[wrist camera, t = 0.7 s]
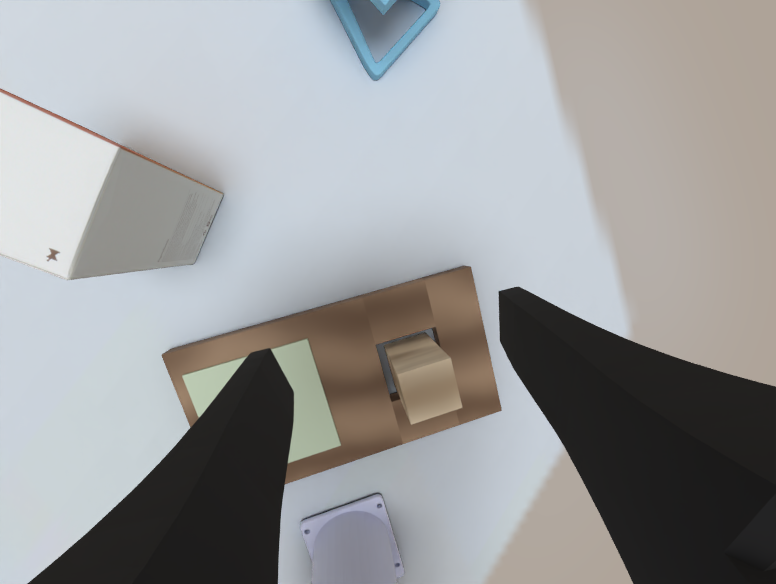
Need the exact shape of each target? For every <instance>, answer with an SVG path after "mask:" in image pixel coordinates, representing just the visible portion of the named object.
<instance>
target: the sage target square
mask: <svg viewBox="0 0 776 584" xmlns="http://www.w3.org/2000/svg"><path fill="white" fill-rule="evenodd" d="M271 351H272V352H273V354H274V356H275V358H276V360H277V362H278V363H279V365H280V367H281V369H282V371H283V373H284V374H285V376H286V378H287V380H288V382H289V384H290V385H291V387H292V389H293V391H294V423H293V431H292V438H291V445H290V452H289V458H288V463H290V462H293V461H296V460H299V459H302V458H305V457H308V456H311V455H314V454H317V453H320V452H323V451H326V450H329V449H332V448H335V447H338V446H341V442H340V439H339V436H338V433H337V430H336V426H335V423H334V420H333V417H332V414H331V411H330V407H329V404H328V401H327V398H326V395H325V392H324V388H323V385H322V382H321V379H320V376H319V373H318V370H317V366H316V363H315V360H314V357H313V354H312V351H311V347H310V344H309V341H308V338H306V339H303V340H299V341H296V342H293V343H289V344H286V345H282V346H279V347H275V348H272V349H271ZM246 358H247V356H245V357H241V358H238V359H234V360H231V361H228V362H224V363H221V364H217V365H214V366H211V367H207V368H204V369H200V370H197V371H194V372H190V373H187V374H184V375H182V377H183V380H184V382H185V385H186V387H187V390H188V392H189V395H190V397H191V400H192V402H193V405H194V407H195V410H196V412H197V415H198V417H200V416H201V415H202V414H203V412H204V411H205V410H206V409H207V408H208V406H209V405H210V404H211V402H212V401H213V400H214V399H215V397H216V396H217V395H218V393H219V392H220V391H221V390H222V388H223V387H224V386H225V385H226V383H227V382H228V381H229V379H230V378H231V377H232V375H233V374H234V373H235V371H236V370H237V369H238V368H239V366H240V365H241V364H242V363H243V361H244V360H245V359H246Z"/></svg>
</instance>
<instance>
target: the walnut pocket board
mask: <svg viewBox="0 0 776 584" xmlns="http://www.w3.org/2000/svg"><path fill="white" fill-rule="evenodd" d="M429 328H432V329H433V333H434V337H435V341H436V344H437V345H438V346H439V347H440V348H441V349H442V350H443V351H444V352H445V353H446V354H447V355H448V356H449V357H450V358H451V361H452V365H453V369H454V374H455V378H456V382H457V386H458V391H459V395H460V399H461V403H462V407H463V408H460V409H457V410H454V411H451V412H448V413H445V414H442V415H439V416H436V417H433V418H430V419H427V420H424V421H421V422H418V423H415V424H412V425H411V423H410V421H409V419H408V416H407V414H406V411H405V409H404V407H403V404H402V402H401V399H400V397H399V394H398V392H396V393H393V394H389V391H388V388H387V384H386V381H385V377H384V374H383V370H382V366H381V363H380V359H379V356H378V352H377V348H376V345H377V344H380V343H383V342H386V341H390V340H393V339H396V338H400V337H403V336H406V335H410V334H413V333H416V332H420V331H423V330H426V329H429ZM306 338H308V341H309V344H310V347H311V351H312V354H313V357H314V360H315V363H316V366H317V370H318V373H319V376H320V379H321V382H322V385H323V388H324V392H325V395H326V398H327V401H328V404H329V407H330V411H331V414H332V417H333V420H334V423H335V426H336V430H337V433H338V436H339V439H340V442H341V446H338V447H335V448H332V449H329V450H326V451H323V452H320V453H317V454H314V455H311V456H308V457H305V458H302V459H299V460H296V461H293V462H290V463H288V465H287V472H286V478H285V484H287V483H290V482H293V481H296V480H299V479H302V478H305V477H308V476H311V475H314V474H316V473H319V472H322V471H325V470H328V469H331V468H334V467H337V466H340V465H343V464H346V463H349V462H352V461H355V460H358V459H361V458H363V457H366V456H369V455H372V454H375V453H378V452H381V451H384V450H387V449H390V448H393V447H396V446H399V445H402V444H405V443H408V442H411V441H413V440H416V439H419V438H422V437H425V436H428V435H431V434H434V433H437V432H440V431H443V430H446V429H449V428H452V427H455V426H458V425H461V424H463V423H466V422H469V421H472V420H475V419H478V418H481V417H484V416H487V415H490V414H493V413H496V412H499V411H502V410H501V405H500V400H499V396H498V391H497V386H496V382H495V377H494V372H493V368H492V363H491V358H490V354H489V349H488V344H487V340H486V335H485V330H484V326H483V321H482V316H481V312H480V307H479V302H478V298H477V293H476V288H475V284H474V279H473V274H472V270H471V267H469V266H462V267H458V268H455V269H451V270H448V271H444V272H441V273H437V274H434V275H430V276H426V277H423V278H419V279H416V280H412V281H409V282H405V283H402V284H398V285H395V286H391V287H388V288H384V289H381V290H377V291H374V292H370V293H366V294H363V295H359V296H356V297H352V298H349V299H345V300H342V301H338V302H335V303H331V304H328V305H324V306H321V307H317V308H314V309H310V310H307V311H303V312H299V313H296V314H292V315H289V316H285V317H282V318H278V319H275V320H271V321H268V322H264V323H261V324H257V325H254V326H250V327H247V328H243V329H240V330H236V331H232V332H229V333H225V334H222V335H218V336H215V337H211V338H208V339H204V340H201V341H197V342H194V343H190V344H187V345H183V346H180V347H176V348H172V349H170V350H168V351H167V352H165V353H164V354H162V358H163V360H164V363H165V365H166V368H167V370H168V373H169V375H170V378H171V380H172V382H173V385H174V387H175V390H176V392H177V395H178V397H179V400H180V402H181V405H182V407H183V410H184V412H185V415H186V417H187V420H188V422H189V425H190V427H192V426H193V424H194V423H195V422H196V421H197V420H198V418H199V417H198V415H197V412H196V410H195V407H194V405H193V402H192V400H191V397H190V395H189V392H188V390H187V387H186V385H185V382H184V380H183V377H182V375H184V374H187V373H190V372H194V371H197V370H200V369H204V368H207V367H211V366H214V365H217V364H221V363H224V362H228V361H231V360H234V359H238V358H241V357H245V356H248V355H249V354H250V353H251V352H255V351H259V350H263V349H267V348H270V349H272V348H275V347H279V346H282V345H286V344H289V343H293V342H296V341H299V340H303V339H306Z"/></svg>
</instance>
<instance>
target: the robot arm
mask: <svg viewBox="0 0 776 584" xmlns="http://www.w3.org/2000/svg"><path fill="white" fill-rule="evenodd" d="M499 322H500V342H501V344H502V346H503V348H504V350H505V352H506V354H507V357H508V359H509V360H510V362H511V364H512V366H513V368H514V370H515V371H516V373H517V375H518V376H519V378H520V379H521V381H522V382H523V384H524V385H525V387H526V388H527V390H528V391H529V393H530V394H531V396H532V397H533V399H534V400H535V402H536V403H537V405H538V406H539V408H540V409H541V411H542V412H543V414H544V415H545V417H546V418H547V420H548V421H549V423H550V424H551V426H552V427H553V429H554V430H555V432H556V433H557V435H558V437H559V438H560V440H561V442H562V443H563V445H564V447H565V448H566V450H567V452H568V454H569V456H570V458H571V460H572V462H573V463H574V465H575V467H576V469H577V471H578V472H579V474H580V476H581V478H582V480H583V482H584V484H585V486H586V488H587V490H588V492H589V494H590V496H591V497H592V500H593V502H594V503H595V505H596V507H597V509H598V511H599V513H600V515H601V517H602V519H603V521H604V523H605V525H606V527H607V529H608V531H609V533H610V535H611V538H612V540H613V542H614V544H615V546H616V548H617V550H618V552H619V554H620V556H621V558H622V560H623V562H624V564H625V567H626V569H627V571H628V573H629V575H630V577H631V579H632V581H633V584H776V387H775V386H771V385H767V384H763V383H759V382H756V381H752V380H748V379H744V378H741V377H737V376H733V375H730V374H727V373H723V372H720V371H717V370H713V369H710V368H707V367H704V366H701V365H697V364H694V363H691V362H688V361H685V360H682V359H679V358H676V357H673V356H670V355H667V354H664V353H662V352H659V351H656V350H654V349H651V348H648V347H645V346H643V345H640V344H638V343H635V342H633V341H630V340H628V339H625V338H623V337H620V336H618V335H616V334H614V333H611V332H609V331H607V330H604V329H602V328H600V327H598V326H595V325H593V324H591V323H589V322H587V321H585V320H583V319H581V318H579V317H577V316H575V315H573V314H571V313H569V312H567V311H565V310H563V309H561V308H559V307H557V306H555V305H553V304H551V303H549V302H547V301H545V300H544V299H542V298H540V297H538V296H536V295H534V294H532V293H530V292H528V291H526V290H524V289H522V288H520V287H514V288H510V289H506V290H502V291H499ZM293 423H294V391H293V389H292V387H291V385H290V384H289V382H288V380H287V378H286V376H285V374H284V373H283V371H282V369H281V367H280V365H279V363H278V362H277V360H276V358H275V356H274V354H273V352H272V351H271V349H270V348H267V349H263V350H259V351H255V352H251V353H250V354H249V355H248V356H247V358H246V359H245V360H244V361H243V363H242V364H241V365H240V366H239V368H238V369H237V370H236V371H235V373H234V374H233V375H232V377H231V378H230V379H229V381H228V382H227V383H226V385H225V386H224V387H223V388H222V390H221V391H220V392H219V393H218V395H217V396H216V397H215V399H214V400H213V401H212V402H211V404H210V405H209V406H208V408H207V409H206V410H205V411H204V412H203V414H202V415H201V416H200V417H199V418H198V420H197V421H196V422H195V423H194V424H193V426H192V427H191V428H190V429H189V430H188V431H187V433H186V434H185V435H184V436H183V437H182V439H181V440H180V441H179V442H178V443H177V444H176V446H175V447H174V448H173V449H172V450H171V451H170V452H169V453H168V454H167V455H166V457H165V458H164V459H163V460H162V461H161V462H160V463H159V464H158V465H157V466H156V467H155V468H154V469H153V470H152V471H151V472H150V473H149V474H148V475H147V476H146V477H145V478H144V480H143V481H142V482H141V483H140V484H139V485H138V486H137V487H136V488H135V489H134V490H133V491H132V492H130V493H129V494H128V495H127V496H126V497H125V498H124V499H123V500H122V501H121V502H120V503H119V504H118V505H117V506H116V507H114V508H113V509H112V510H111V511H110V512H109V513H108V514H107V515H106V516H105V517H104V518H103V519H102V520H101V521H99V522H98V523H97V524H96V525H95V526H94V527H93V528H92V529H91V530H90V531H89V532H88V533H86V534H85V535H84V536H83V537H82V538H81V539H80V540H78V541H77V542H76V543H75V544H74V545H73V546H72V547H70V548H69V549H68V550H67V551H66V552H65V553H64V554H62V555H61V556H60V557H59V558H58V559H57V560H55V561H54V562H53V563H52V564H51V565H49V566H48V567H47V568H46V569H45V570H43V571H42V572H41V573H40V574H39V575H37V576H36V577H35V578H34V579H33V580H31V581H30V582H29V583H28V584H278V557H279V537H280V518H281V508H282V499H283V492H284V485H285V478H286V472H287V465H288V458H289V452H290V445H291V438H292V431H293ZM379 503H380V505H377V504H379ZM306 529H308V531H306ZM300 530H301V532H302V535H303V538H304V541H305V544H306V546H307V549H308V552H309V555H310V557H311V560H312V563H313V566H312V580H311V584H398V583H397V578H399V577H402V576H403V575H404V567H403V564H402V561H401V557H400V554H399V551H398V547H397V544H396V541H395V537H394V534H393V531H392V527H391V524H390V521H389V517H388V514H387V511H386V507H385V504H384V501H383V497H382V496H381V495H380V494H376V495H373V496H370V497H367V498H365V499H362V500H359V501H356V502H353V503H350V504H348V505H345V506H342V507H339V508H336V509H334V510H331V511H328V512H325V513H322V514H319V515H317V516H314V517H311V518H308V519H305V520H303V521H302V522H301V524H300ZM396 563H397V564H396Z"/></svg>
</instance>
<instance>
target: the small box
mask: <svg viewBox="0 0 776 584" xmlns="http://www.w3.org/2000/svg"><path fill="white" fill-rule="evenodd" d="M222 197H223V193H221V192H219V191H217V190H215V189H213V188H211V187H208V186H206V185H204V184H202V183H200V182H198V181H196V180H194V179H191V178H189V177H187V176H185V175H183V174H181V173H178V172H176V171H174V170H172V169H170V168H168V167H166V166H164V165H162V164H160V163H157V162H155V161H153V160H151V159H149V158H147V157H145V156H143V155H141V154H139V153H137V152H135V151H132V150H130V149H128V148H126V147H124V146H122V145H120V144H118V143H116V142H113V141H111V140H109V139H107V138H105V137H103V136H101V135H99V134H97V133H95V132H93V131H91V130H89V129H86V128H84V127H82V126H80V125H78V124H76V123H74V122H72V121H69V120H67V119H65V118H63V117H61V116H59V115H57V114H54V113H52V112H50V111H48V110H46V109H44V108H41V107H39V106H37V105H35V104H33V103H31V102H28V101H26V100H24V99H22V98H20V97H18V96H15V95H13V94H11V93H9V92H7V91H5V90H2V89H0V256H3V257H5V258H8V259H11V260H14V261H16V262H19V263H22V264H24V265H27V266H30V267H32V268H35V269H38V270H41V271H44V272H46V273H49V274H52V275H54V276H57V277H59V278H62V279H66V280H73V279H80V278H88V277H96V276H104V275H112V274H120V273H128V272H135V271H143V270H151V269H158V268H166V267H174V266H183V265H192V264H194V263H195V261H196V258H197V256H198V254H199V251H200V249H201V247H202V245H203V242H204V240H205V237H206V235H207V232H208V230H209V228H210V225H211V223H212V221H213V218H214V216H215V213H216V211H217V209H218V207H219V204H220V202H221V200H222Z"/></svg>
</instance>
